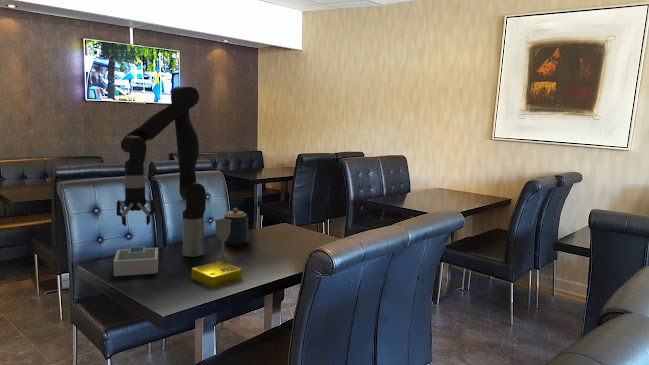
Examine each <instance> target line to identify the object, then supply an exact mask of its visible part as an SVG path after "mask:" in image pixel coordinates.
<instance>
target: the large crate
mask: <svg viewBox="0 0 649 365" xmlns="http://www.w3.org/2000/svg"><path fill="white" fill-rule="evenodd" d="M128 252H129V248H126V249H123V248H122V249H117V250H116V254H115V257H114V260H113V262H112V263H113V277H123V276H124V277H125V276H135V275H136V276H137V275H139V276H140V275H149V274H150V275H151V274H158V271H159V270H158V269H159V247H145V259H133V260H129V259H128Z"/></svg>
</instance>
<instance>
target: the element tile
mask: <svg viewBox="0 0 649 365" xmlns="http://www.w3.org/2000/svg"><path fill="white" fill-rule="evenodd" d="M242 277H243V270H242V268H241V267H239V266H237V265H234V264H231V263H229V262H224V261H213V262H211V263H207V264H203V265H199V266H195V267H192V268H191V279H192V280H194V281H196V282H199V283H200V284H202V285H204V286H207V287H208V288H216V287H217V288H218V287H220V286H223V285H226V284H229V283H233V282H237V281H240V280H242Z"/></svg>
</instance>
